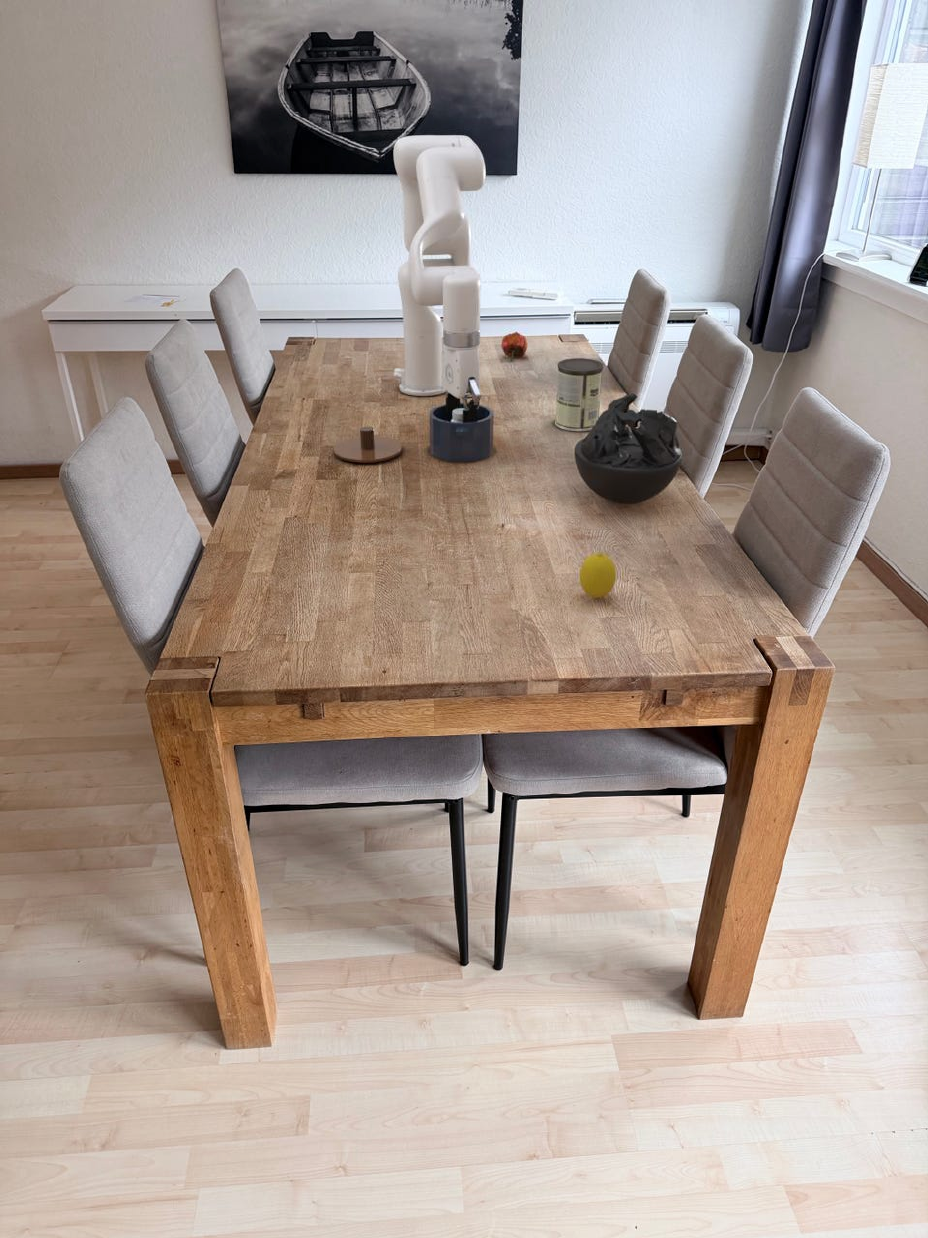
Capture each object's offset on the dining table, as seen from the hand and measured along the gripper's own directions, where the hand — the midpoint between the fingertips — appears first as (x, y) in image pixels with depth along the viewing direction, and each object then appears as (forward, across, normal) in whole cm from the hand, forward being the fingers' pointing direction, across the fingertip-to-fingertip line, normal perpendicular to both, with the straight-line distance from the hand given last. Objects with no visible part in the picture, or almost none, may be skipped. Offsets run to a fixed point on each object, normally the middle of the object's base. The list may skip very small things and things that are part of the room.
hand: (461, 420), depth 193 cm
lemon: (+7, +67, -7) cm, 68 cm away
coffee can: (+7, -4, +31) cm, 32 cm away
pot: (+7, 0, 0) cm, 7 cm away
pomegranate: (+7, -60, +44) cm, 75 cm away
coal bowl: (+7, +37, +18) cm, 41 cm away
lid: (+6, -7, -19) cm, 21 cm away
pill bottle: (+6, 0, 0) cm, 6 cm away
